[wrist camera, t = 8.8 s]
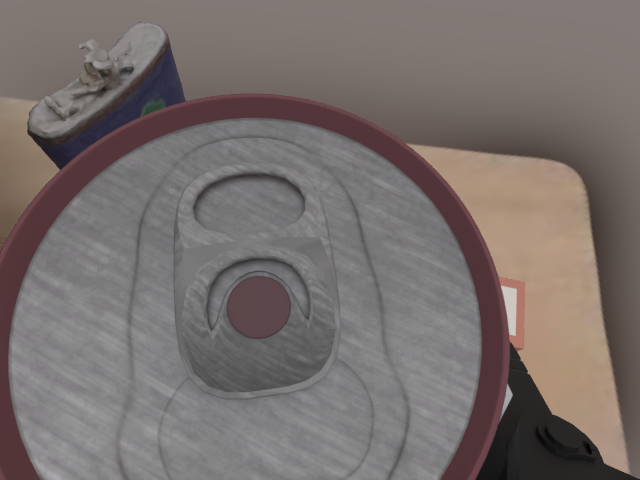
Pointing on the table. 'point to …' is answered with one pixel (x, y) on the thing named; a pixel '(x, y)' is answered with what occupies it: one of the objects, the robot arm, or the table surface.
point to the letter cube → (514, 310)
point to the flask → (108, 93)
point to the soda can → (249, 306)
